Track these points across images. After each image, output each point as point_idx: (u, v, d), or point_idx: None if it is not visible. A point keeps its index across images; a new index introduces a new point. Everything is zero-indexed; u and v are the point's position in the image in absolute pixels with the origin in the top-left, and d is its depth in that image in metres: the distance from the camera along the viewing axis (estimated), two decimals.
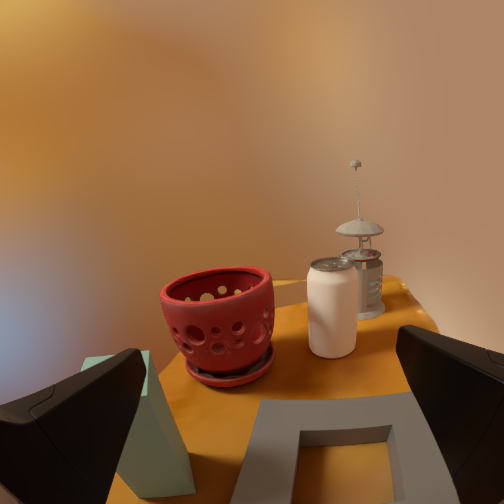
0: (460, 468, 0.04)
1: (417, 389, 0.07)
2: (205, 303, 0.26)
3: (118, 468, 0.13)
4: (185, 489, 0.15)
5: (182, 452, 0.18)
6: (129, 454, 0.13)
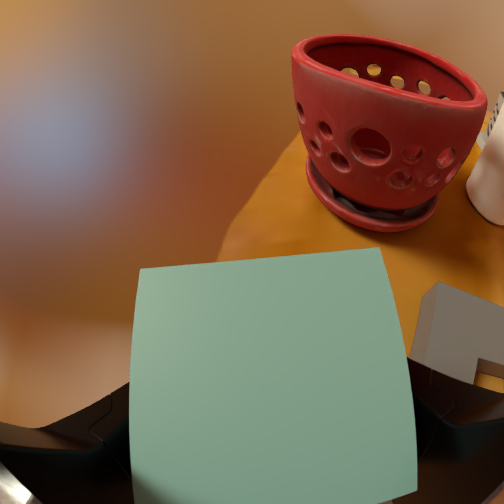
0: None
1: None
2: (417, 100, 0.09)
3: None
4: None
5: None
6: None
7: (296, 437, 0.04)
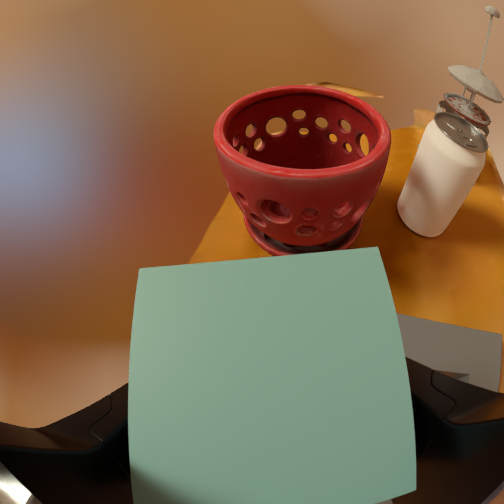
0: None
1: None
2: (303, 177, 0.15)
3: None
4: None
5: None
6: None
7: (295, 436, 0.04)
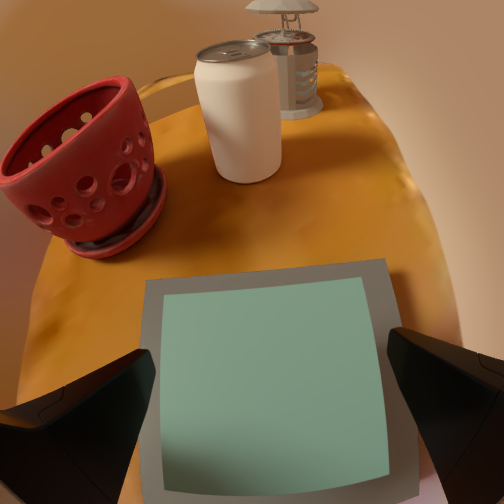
0: (449, 473, 0.04)
1: (407, 392, 0.07)
2: (27, 173, 0.12)
3: None
4: None
5: None
6: None
7: (292, 427, 0.05)
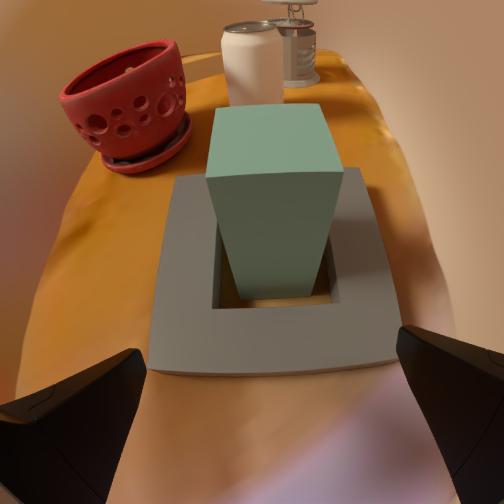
0: (460, 468, 0.04)
1: (417, 389, 0.07)
2: (99, 87, 0.17)
3: (236, 267, 0.16)
4: (302, 291, 0.19)
5: None
6: (265, 249, 0.14)
7: (282, 144, 0.10)
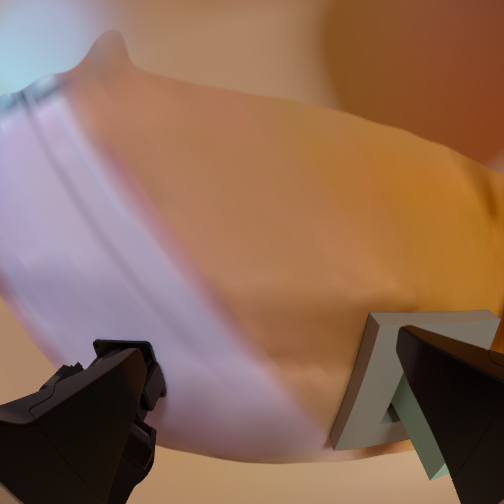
0: (460, 468, 0.04)
1: (417, 389, 0.07)
2: None
3: None
4: (394, 399, 0.23)
5: None
6: (424, 419, 0.17)
7: None
